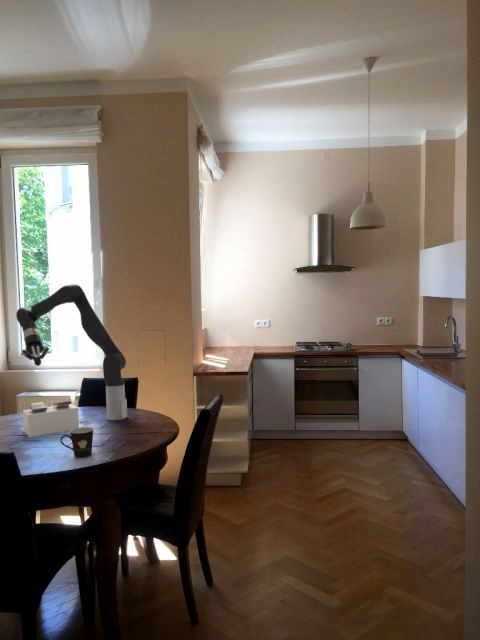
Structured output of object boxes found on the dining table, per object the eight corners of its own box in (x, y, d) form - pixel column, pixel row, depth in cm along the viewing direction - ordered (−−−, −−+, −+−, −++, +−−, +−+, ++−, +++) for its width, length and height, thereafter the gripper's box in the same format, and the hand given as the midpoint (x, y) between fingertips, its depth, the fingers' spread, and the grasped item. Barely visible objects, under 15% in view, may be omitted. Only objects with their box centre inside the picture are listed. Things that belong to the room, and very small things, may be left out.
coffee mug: (97, 451, 189) (96, 427, 189) (89, 459, 181) (87, 433, 180) (70, 451, 190) (69, 427, 190) (59, 458, 182) (58, 433, 181)
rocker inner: (67, 403, 230) (66, 400, 230) (71, 404, 224) (71, 400, 224) (54, 405, 227) (53, 402, 227) (58, 406, 220) (57, 402, 220)
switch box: (71, 423, 234) (71, 401, 233) (78, 428, 224) (77, 406, 224) (23, 431, 221) (22, 408, 221) (29, 437, 212) (27, 413, 211)
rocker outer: (42, 404, 224) (42, 401, 224) (46, 410, 218) (46, 407, 217) (29, 406, 221) (29, 403, 220) (32, 412, 214) (32, 409, 214)
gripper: (19, 334, 238) (24, 361, 228) (46, 333, 245) (53, 358, 236) (17, 344, 243) (23, 370, 233) (44, 342, 250) (51, 368, 241)
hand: (38, 364), depth 235 cm, fingers closed
